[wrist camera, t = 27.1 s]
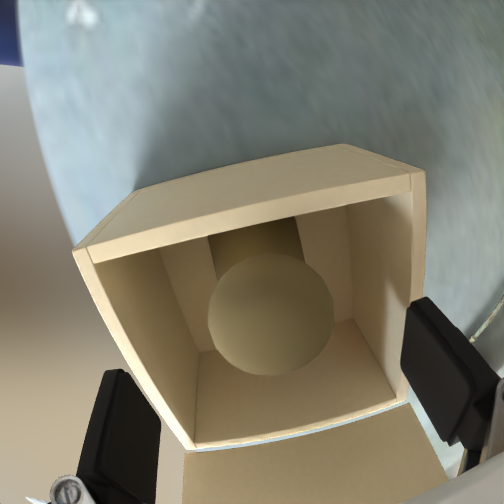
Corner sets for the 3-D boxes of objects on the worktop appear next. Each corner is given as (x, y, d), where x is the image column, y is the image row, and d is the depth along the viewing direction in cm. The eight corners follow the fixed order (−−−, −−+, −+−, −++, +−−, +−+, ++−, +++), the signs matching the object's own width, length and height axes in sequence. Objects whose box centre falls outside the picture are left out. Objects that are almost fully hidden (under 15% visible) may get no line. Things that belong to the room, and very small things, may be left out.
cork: (261, 171, 20) (299, 235, 10) (314, 240, 22) (379, 343, 12) (188, 229, 21) (159, 337, 11) (245, 289, 23) (261, 413, 13)
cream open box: (132, 191, 20) (70, 251, 11) (344, 143, 20) (426, 170, 11) (193, 354, 26) (186, 450, 17) (358, 316, 26) (406, 400, 17)
